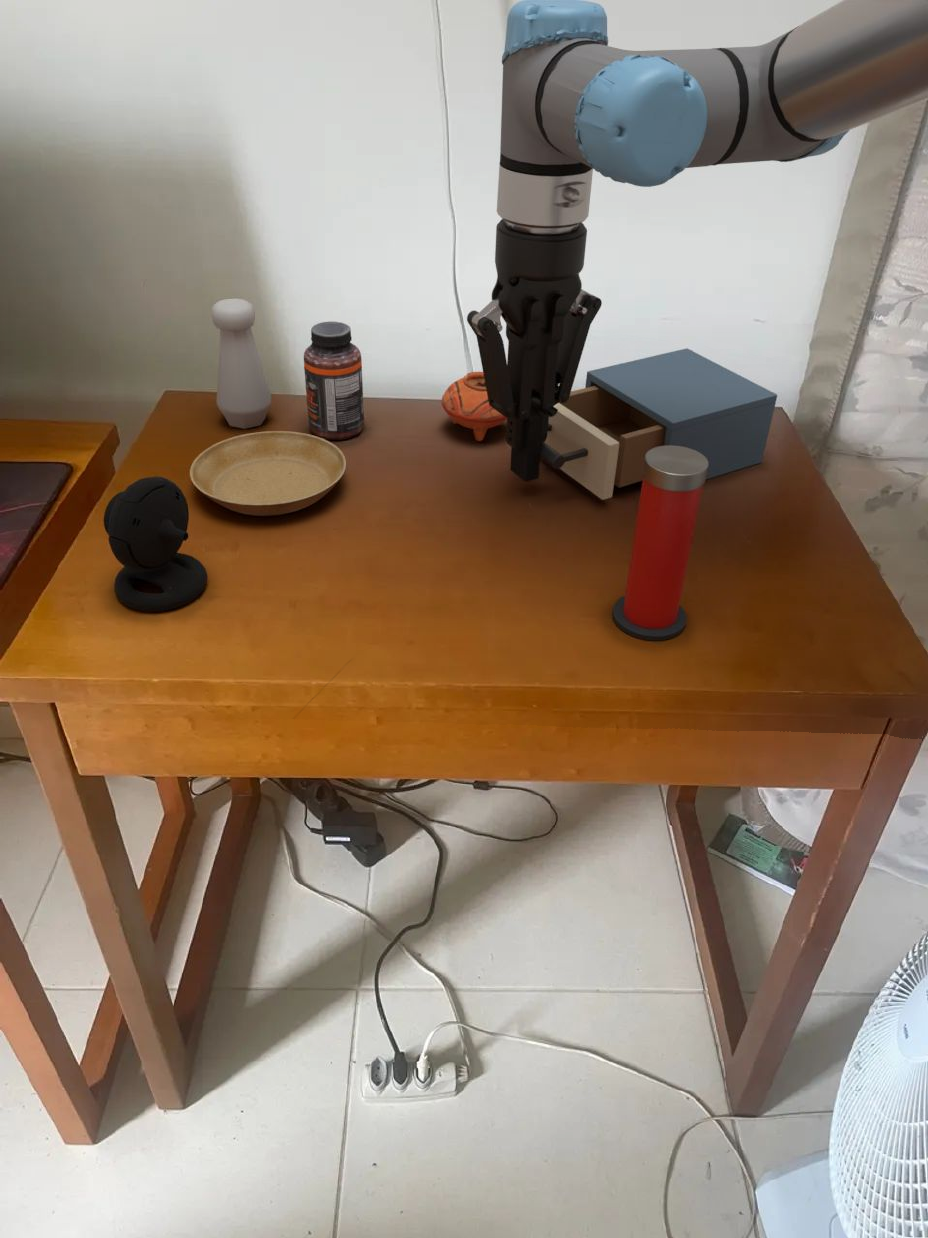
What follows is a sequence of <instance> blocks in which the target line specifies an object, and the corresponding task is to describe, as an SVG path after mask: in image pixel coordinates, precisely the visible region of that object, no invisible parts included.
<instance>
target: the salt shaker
mask: <svg viewBox="0 0 928 1238" xmlns="http://www.w3.org/2000/svg"><path fill="white" fill-rule="evenodd" d="M254 307H255V306H254V305H253V304H251V303H250V302H249V301H247V299H242V298H225V299H222V300H218V301H217V302H215V304H214V305H213V306H212V309H211V319H212V324H213V325H214V327H216V328H217V329H218V330H219V347H218V348H219V349H218V352H219V353H218V370H217V371H218V372H217V387H216V406H217V409H218V410H219V411H220V413H221V414H222V415H223V416H224V418H225V420H226V421H227V423H228V425H229V427H234V428H239V429H244V430H246V429H251V428H255V427H259V426H261V425H262V424H263V423H264V421H265V419H266V417H267V414H268V412H269V410H270V407H271V403H272V393H271V391H270V387H269V384H268V380H267V377H266V374H265V371H264V366H263V364H262V360H261V357H260V354H259V351H258V347H257V344H256V339H255V336H254V334H253V331H252V327H253V326H255V322H256V311H255V308H254Z"/></svg>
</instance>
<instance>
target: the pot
mask: <svg viewBox="0 0 928 1238" xmlns="http://www.w3.org/2000/svg"><path fill="white" fill-rule="evenodd" d="M441 406H442V408H443V410H444V411H445V413H446V414H447V415H448V416H449V417H450V418H451V421H452V423H453V424H454V425H456V424H458V425H460V426H462V427H464V428H468V429H472V432H473V435H474V438H475V441H476V442H481V441H483V440H484V438H485V436H486V432H487V431H488V429H491V428H495V427H497V426H502V425H503V423H504V422H505V421H507V417H505V416H503V415H502V414H501V413H499V412H498V411H496V410H495V409H494V408H492V407H491V406H490V405H489V401H488V395H487V390H486V385H485V379H484V374H483V371H471V372H467V373H466V374H465V375H464V376H463V377H460V378H459V379H458V380H456V381H454V382H453V383H451V384H450V385H449V386H448V387H447V388H446V389H445V391H444V392H443V394H442V398H441Z"/></svg>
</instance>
